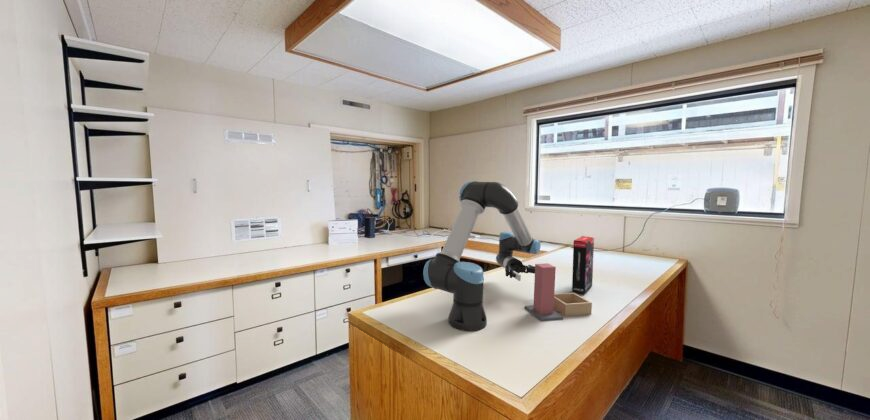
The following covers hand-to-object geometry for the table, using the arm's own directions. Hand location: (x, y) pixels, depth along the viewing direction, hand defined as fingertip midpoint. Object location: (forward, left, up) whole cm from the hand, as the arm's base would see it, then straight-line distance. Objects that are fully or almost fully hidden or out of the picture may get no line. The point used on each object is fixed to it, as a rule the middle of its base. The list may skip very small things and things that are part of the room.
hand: (533, 277), depth 149 cm
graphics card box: (+37, +16, -13) cm, 42 cm away
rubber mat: (0, -9, -13) cm, 16 cm away
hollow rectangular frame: (+14, -7, -13) cm, 20 cm away
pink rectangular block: (0, -9, -12) cm, 15 cm away
